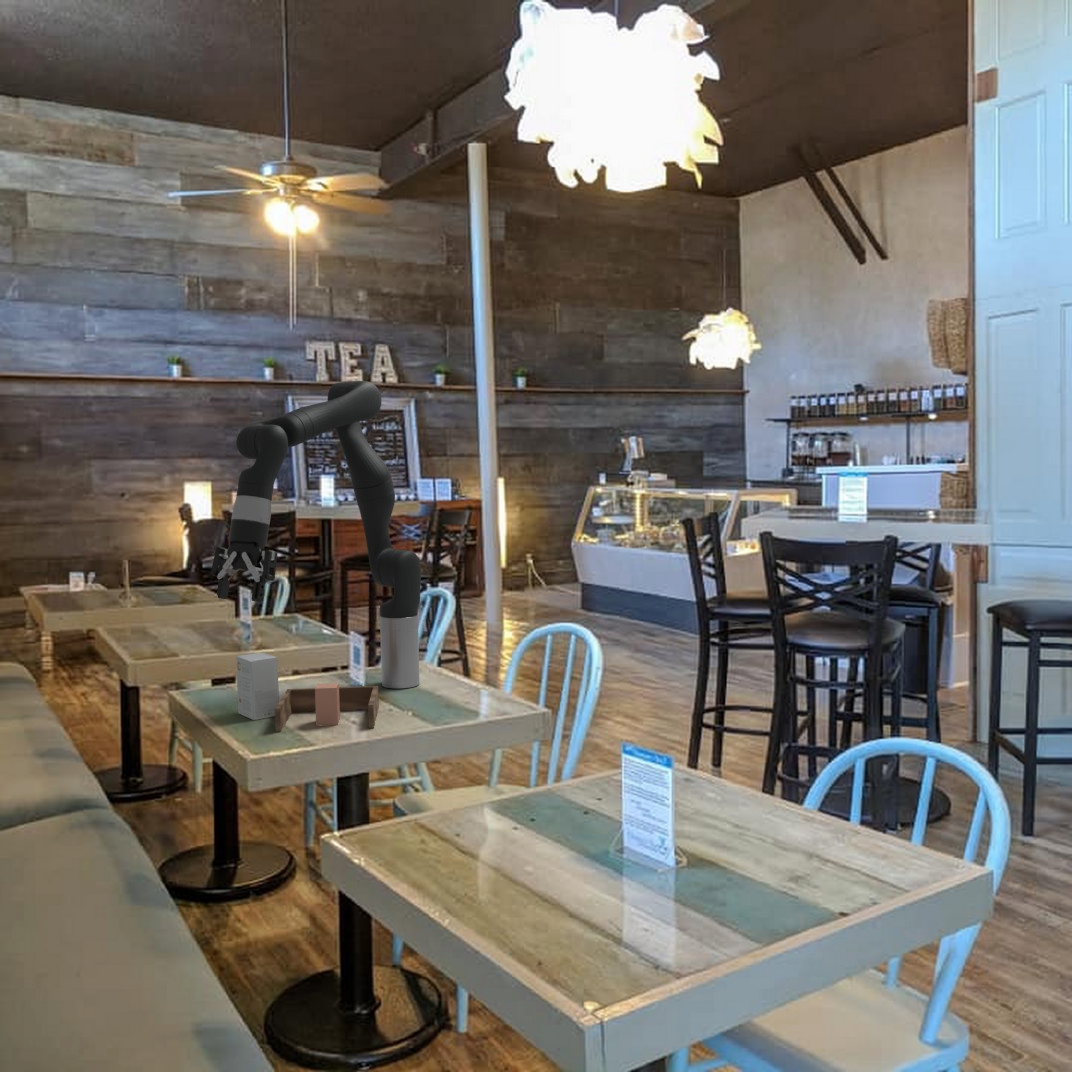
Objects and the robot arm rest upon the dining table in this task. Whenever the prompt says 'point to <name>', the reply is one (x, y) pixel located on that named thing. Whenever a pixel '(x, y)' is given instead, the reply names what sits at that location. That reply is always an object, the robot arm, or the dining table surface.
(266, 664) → the small box
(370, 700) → the u-shaped bracket
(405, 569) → the robot arm
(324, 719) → the terracotta block
